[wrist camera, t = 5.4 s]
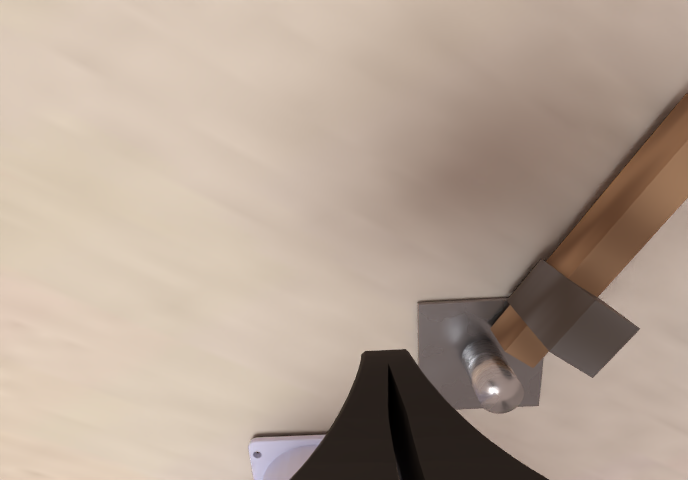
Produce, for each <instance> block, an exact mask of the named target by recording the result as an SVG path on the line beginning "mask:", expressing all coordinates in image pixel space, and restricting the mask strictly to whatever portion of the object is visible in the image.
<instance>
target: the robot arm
mask: <svg viewBox="0 0 688 480" xmlns="http://www.w3.org/2000/svg"><path fill="white" fill-rule="evenodd" d="M248 449H249V455H250V461H251V467H252V473H253V478H254V480H549V479H547V478H545V477H544V476H542V475H540V474H539V473H537V472H535V471H534V470H532V469H530V468H529V467H527V466H526V465H524V464H523V463H521V462H520V461H518V460H517V459H515V458H513V457H512V456H511V455H509V454H508V453H507V452H505V451H504V450H502V449H501V448H500V447H498V446H497V445H495V444H494V443H493V442H491V441H490V440H489V439H487V438H486V437H485V436H484V435H482V434H481V433H480V432H479V431H478V430H477V429H475V428H474V427H473V426H472V425H471V424H470V423H469V422H468V421H466V420H465V419H464V418H463V417H462V416H461V415H460V414H459V413H458V412H457V411H456V410H455V409H454V408H453V407H452V406H451V405H450V404H449V403H448V402H447V401H446V399H445V398H444V397H443V396H442V395H441V394H440V393H439V392H438V390H437V389H436V388H435V387H434V386H433V384H432V383H431V382H430V381H429V380H428V378H427V377H426V376H425V375H424V373H423V372H422V371H421V369H420V368H419V367H418V365H417V364H416V362H415V361H414V359H413V358H412V356H411V355H410V353H409V352H408V351H407V350H406V349H402V350H381V351H365V352H364V353H363V354H362V355H361V362H360V366H359V370H358V373H357V375H356V378H355V381H354V383H353V386H352V388H351V390H350V393H349V395H348V397H347V399H346V401H345V403H344V405H343V407H342V409H341V411H340V413H339V414H338V416H337V418H336V420H335V421H334V423H333V425H332V426H331V428H330V429H329V431H328V432H327V434H326V435H304V436H280V437H256V438H253V439H251V441H250V443H249V446H248ZM257 452H260V453H257ZM397 471H398V472H397ZM398 476H399V477H398Z"/></svg>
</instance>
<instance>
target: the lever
mask: <svg viewBox="0 0 688 480" xmlns="http://www.w3.org/2000/svg"><path fill="white" fill-rule="evenodd" d="M687 198H688V93H686V94H685V96H684V97H683V98H682V99H681V100H680V102H679V103H678V104H677V105H676V106H675V108H674V109H673V110H672V111H671V112H670V114H669V115H668V116H667V117H666V118H665V120H664V121H663V122H662V123H661V124H660V126H659V127H658V128H657V129H656V130H655V132H654V133H653V134H652V135H651V136H650V138H649V139H648V140H647V141H646V142H645V144H644V145H643V146H642V147H641V148H640V150H639V151H638V152H637V153H636V154H635V156H634V157H633V158H632V159H631V160H630V162H629V163H628V164H627V165H626V166H625V168H624V169H623V170H622V171H621V172H620V173H619V175H618V176H617V177H616V178H615V179H614V181H613V182H612V183H611V184H610V185H609V187H608V188H607V189H606V190H605V191H604V193H603V194H602V195H601V196H600V197H599V199H598V200H597V201H596V202H595V203H594V205H593V206H592V207H591V208H590V209H589V211H588V212H587V213H586V214H585V215H584V217H583V218H582V219H581V220H580V221H579V223H578V224H577V225H576V226H575V227H574V229H573V230H572V231H571V232H570V233H569V235H568V236H567V237H566V238H565V239H564V241H563V242H562V243H561V244H560V245H559V247H558V248H557V249H556V250H555V251H554V253H553V254H552V255H551V256H550V257H549V259H548V260H547V261H544V260H542V259H541V260H540V261H539V262H538V263H537V265H536V266H535V267H534V268H533V269H532V271H531V272H530V273H529V274H528V276H527V277H526V278H525V279H524V280H523V282H522V283H521V284H520V285H519V286H518V288H517V289H516V290H515V291H514V292H513V294H512V295H511V296H510V297H509V298H508V300H507V302H508V303H509V304H510V305H509V307H508V308H507V309H506V310H505V311H504V313H503V314H502V315H501V316H500V317H499V319H498V320H497V321H496V322H495V323H494V325H493V326H492V327H491V328H490V329H491V331H492V332H493V334H494V336H495V337H496V339H497V340H498V342H499V343H500V345H501V346H502V348H503V349H504V351H505V352H507V353H508V354H510V355H512V356H513V357H515V358H517V359H518V360H520V361H522V362H523V363H525V364H527V365H528V366H530V367H532V368H534V367H535V366H536V365H537V364H538V363H539V361H540V360H541V359H542V358H543V357H544V356H545V355H546V354H547V353H548V352H551V353H552V354H554V355H556V356H557V357H559V358H561V359H562V360H564V361H566V362H567V363H569V364H571V365H572V366H574V367H575V368H577V369H579V370H580V371H582V372H584V373H585V374H587V375H589V376H590V377H592V378H593V377H594V376H595V375H596V374H597V373H598V372H599V371H600V370H601V369H602V368H603V367H604V366H605V365H606V364H607V363H608V362H609V361H610V360H611V358H612V357H613V356H614V355H615V354H616V353H617V352H618V351H619V350H620V349H621V348H622V347H623V346H624V345H625V344H626V343H627V342H628V341H629V340H630V339H631V338H632V337H633V336H634V335H635V334H636V333H637V332H638V330H639V329H640V328H638V327H637V326H636V325H634V324H633V323H632V322H630V321H629V320H628V319H626V318H625V317H624V316H622V315H621V314H619V313H618V312H617V311H615V310H614V309H613V308H611V307H610V306H609V305H607V304H606V303H605V302H603V301H602V300H601V299H599V298H598V296H599V295H600V294H601V293H602V292H603V291H604V290H605V288H606V287H607V286H608V285H609V284H610V283H611V282H612V281H613V280H614V278H615V277H616V276H617V275H618V274H619V273H620V272H621V271H622V270H623V268H624V267H625V266H626V265H627V264H628V263H629V262H630V261H631V260H632V259H633V257H634V256H635V255H636V254H637V253H638V252H639V251H640V250H641V249H642V247H643V246H644V245H645V244H646V243H647V242H648V241H649V240H650V239H651V237H652V236H653V235H654V234H655V233H656V232H657V231H658V230H659V229H660V227H661V226H662V225H663V224H664V223H665V222H666V221H667V220H668V219H669V218H670V216H671V215H672V214H673V213H674V212H675V211H676V210H677V209H678V208H679V206H680V205H681V204H682V203H683V202H684V201H685V200H686V199H687Z"/></svg>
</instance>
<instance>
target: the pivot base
mask: <svg viewBox="0 0 688 480" xmlns="http://www.w3.org/2000/svg"><path fill="white" fill-rule="evenodd" d="M507 300H508V298H489V299H470V300H451V301H431V302H418V367H419V368H420V369H421V371H422V372H423V373H424V375H425V376H426V377H427V378H428V380H429V381H430V382H431V383H432V384H433V386H434V387H435V388H436V389H437V390H438V392H439V393H440V394H441V395H442V396H443V397H444V398H445V399H446V401H447V402H448V403H449V404H450V405H451V406H452V407H453V408H454V409H476V408H484V409H486V410H487V411H489V412H492V413H506V412H509V411H512V410H513V409H515V408H516V407H523V406H539V397H540V387H541V376H542V366H543V358H542V359H541V360H540V361H539V363H538V364H537V365H536V366H535V367H534V368H532V367H530V366H528V365H527V364H525V363H523V362H522V361H520V360H518V359H517V358H515V357H513V356H512V355H510V354H508V353H507V352H505V351H504V349H503V348H502V346H501V345H500V343H499V342H498V340H497V339H496V337H495V336H494V334H493V332H492V331H491V329H490V328H491V327H492V326H493V325H494V323H495V322H496V321H497V320H498V319H499V317H500V316H501V315H502V314H503V313H504V311H505V310H506V309H507V308H508V307H509V305H510V304H509V303H508V302H507Z"/></svg>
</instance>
